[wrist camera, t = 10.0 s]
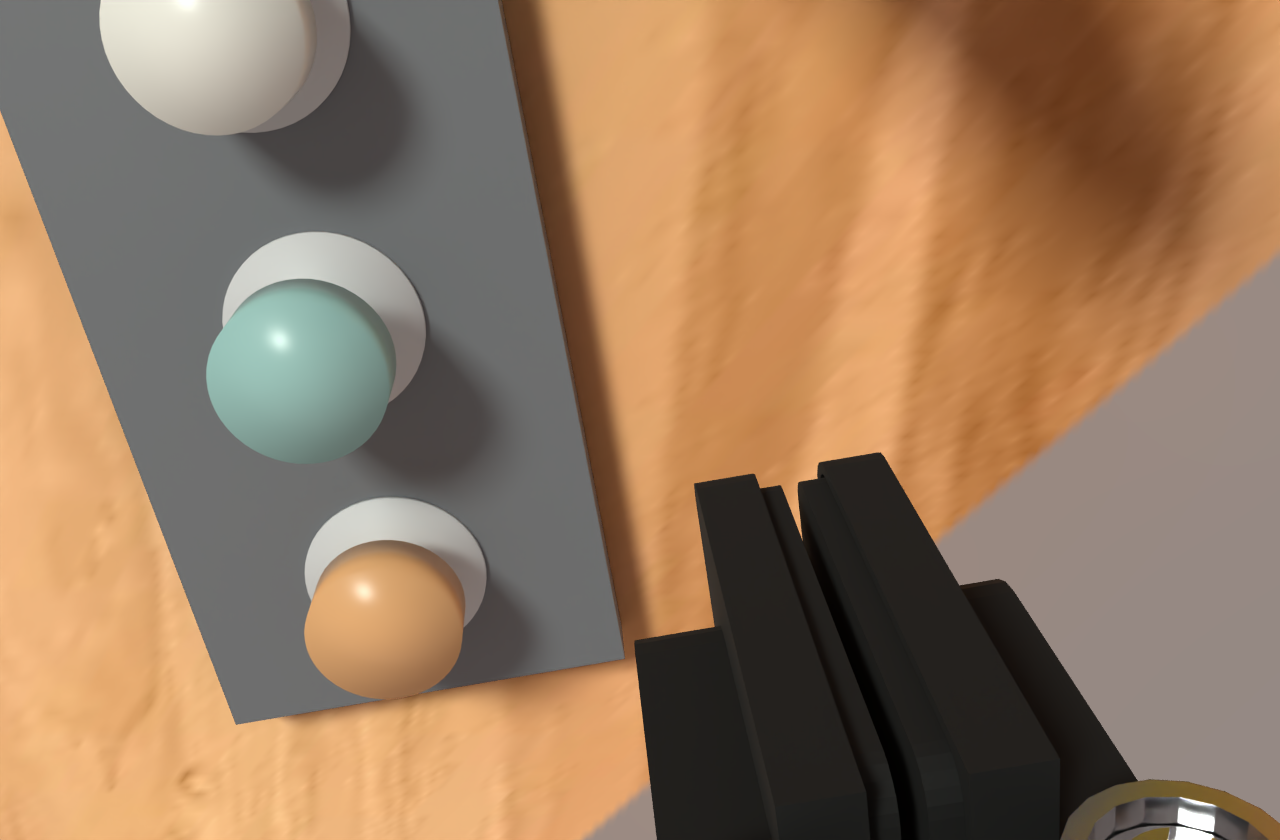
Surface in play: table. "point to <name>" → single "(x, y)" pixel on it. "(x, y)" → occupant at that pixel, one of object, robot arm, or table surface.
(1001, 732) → the robot arm
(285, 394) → the teal button
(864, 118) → the table surface
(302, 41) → the cream button
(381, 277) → the button board
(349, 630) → the terracotta button
